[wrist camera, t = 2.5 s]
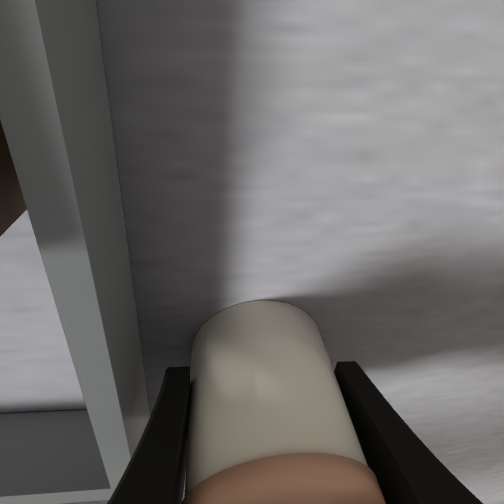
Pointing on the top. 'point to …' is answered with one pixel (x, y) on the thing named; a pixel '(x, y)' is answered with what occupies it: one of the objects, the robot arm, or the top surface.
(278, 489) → the jar
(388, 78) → the top surface
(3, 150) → the block
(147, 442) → the robot arm
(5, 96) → the tote
